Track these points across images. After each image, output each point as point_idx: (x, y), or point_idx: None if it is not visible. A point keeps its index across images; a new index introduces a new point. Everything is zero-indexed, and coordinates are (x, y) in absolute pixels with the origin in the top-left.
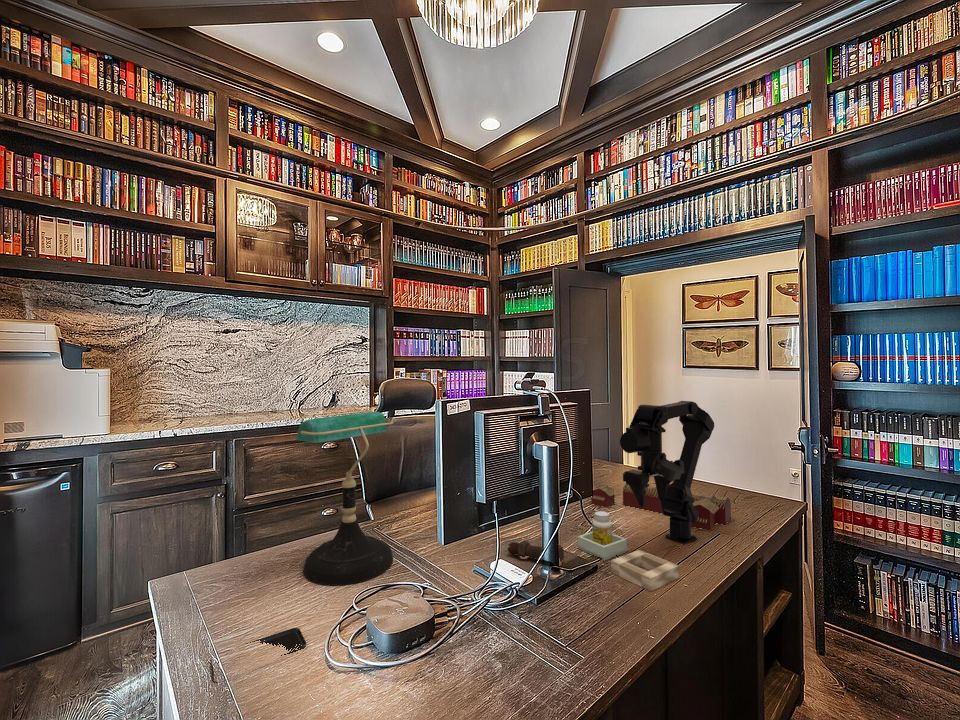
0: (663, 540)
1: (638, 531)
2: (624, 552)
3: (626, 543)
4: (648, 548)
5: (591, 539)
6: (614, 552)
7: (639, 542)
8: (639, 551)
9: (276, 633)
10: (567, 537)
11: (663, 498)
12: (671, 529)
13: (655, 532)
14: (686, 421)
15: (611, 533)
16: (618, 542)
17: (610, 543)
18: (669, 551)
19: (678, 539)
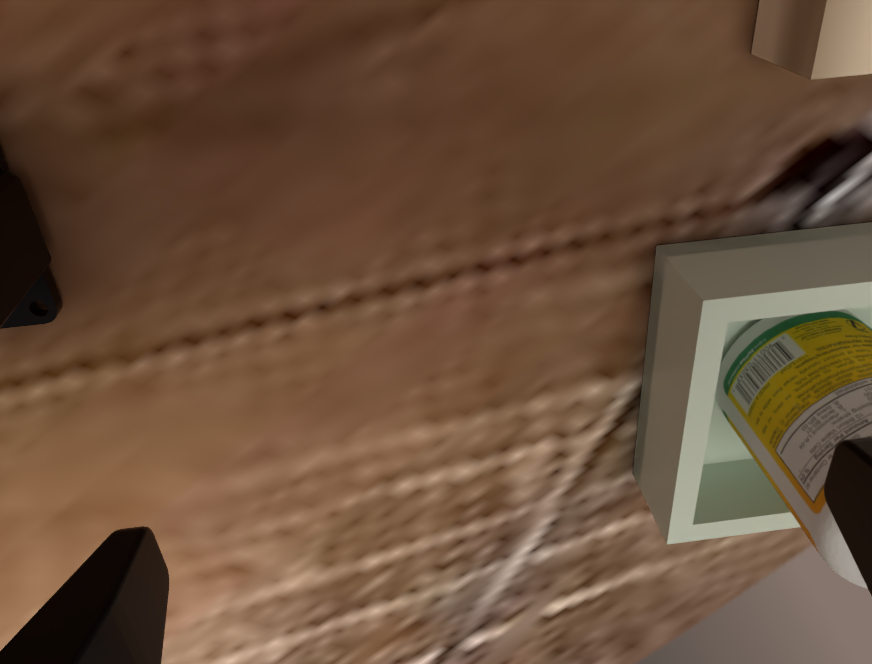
0: (139, 267)
1: (209, 485)
2: (695, 242)
3: (694, 281)
4: (430, 208)
5: None
6: (848, 242)
7: (391, 333)
8: (857, 41)
9: None
10: (753, 581)
11: (123, 567)
12: (8, 285)
13: (72, 419)
14: None
15: (861, 389)
16: (832, 286)
17: (831, 331)
18: (299, 51)
19: (4, 171)
